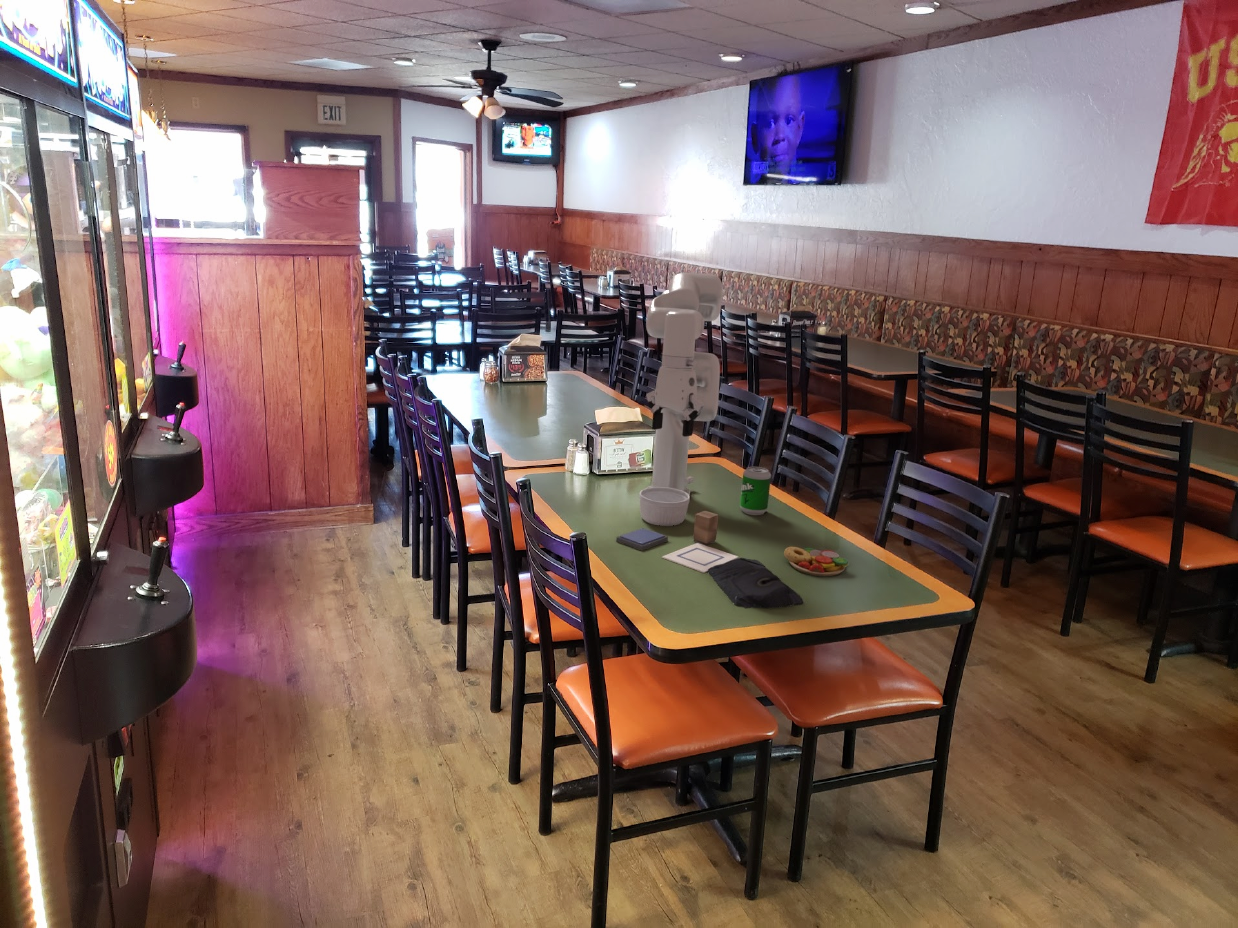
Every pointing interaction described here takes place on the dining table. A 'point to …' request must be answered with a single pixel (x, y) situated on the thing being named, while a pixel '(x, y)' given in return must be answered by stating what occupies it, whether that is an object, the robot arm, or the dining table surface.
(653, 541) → the ink pad
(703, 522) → the stamp
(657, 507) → the ramekin
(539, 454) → the dining table surface
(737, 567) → the black fabric pouch
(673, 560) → the sheet
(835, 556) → the toy food set
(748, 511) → the soda can
